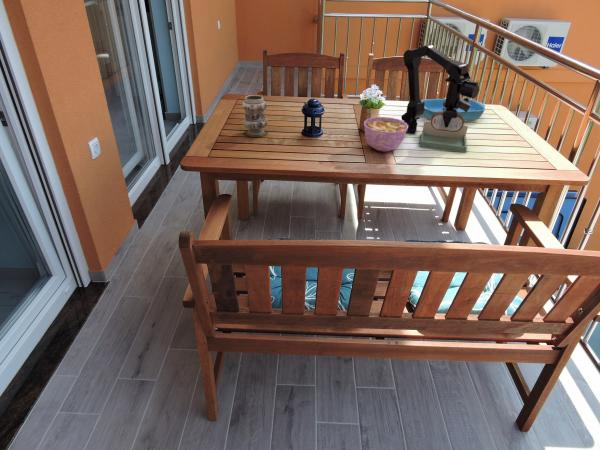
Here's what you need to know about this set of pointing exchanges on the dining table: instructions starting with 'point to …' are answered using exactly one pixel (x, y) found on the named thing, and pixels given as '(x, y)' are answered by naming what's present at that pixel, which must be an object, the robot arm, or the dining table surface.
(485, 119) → the dining table surface
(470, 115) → the casserole dish
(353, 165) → the dining table surface
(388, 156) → the dining table surface
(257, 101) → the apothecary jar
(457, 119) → the tin
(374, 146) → the bowl of food
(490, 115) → the dining table surface
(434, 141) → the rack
